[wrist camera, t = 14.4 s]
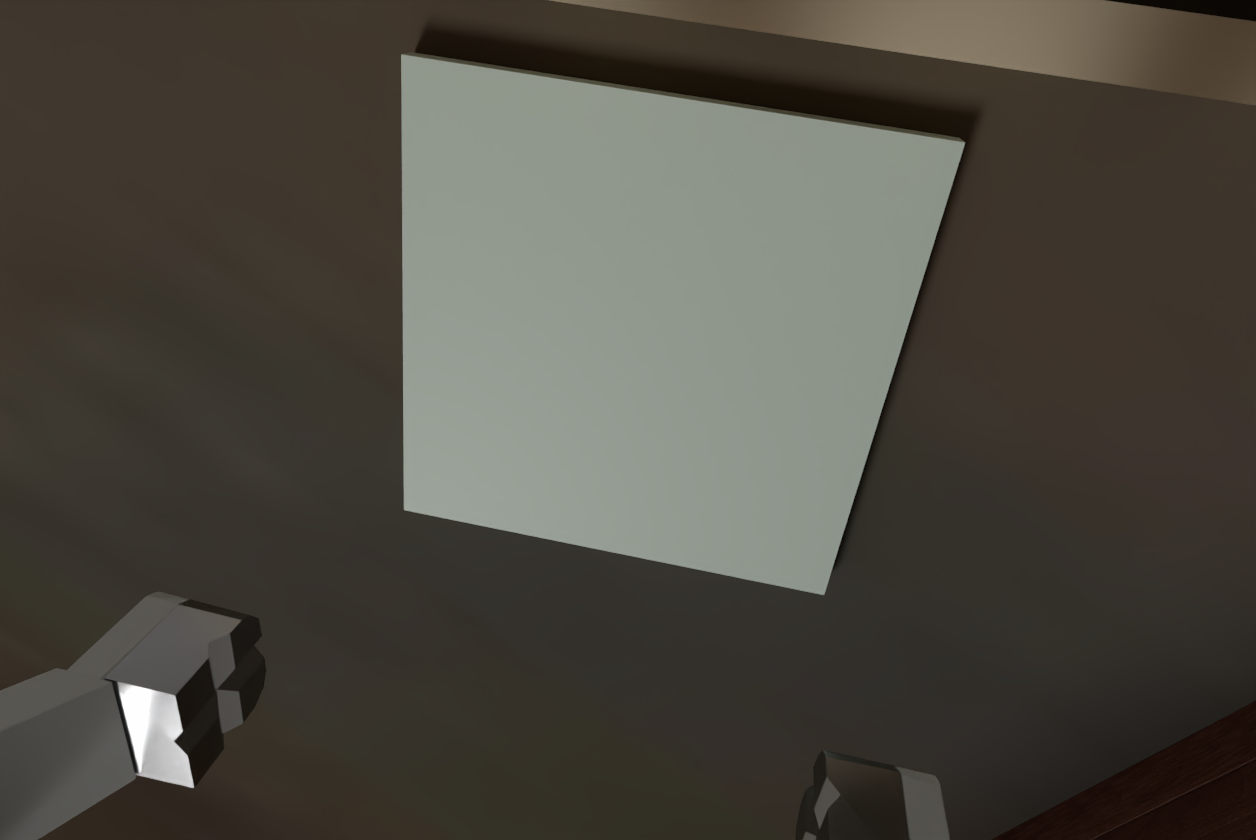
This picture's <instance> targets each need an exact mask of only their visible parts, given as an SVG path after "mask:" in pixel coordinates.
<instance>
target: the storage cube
mask: <svg viewBox="0 0 1256 840" xmlns="http://www.w3.org/2000/svg"><path fill="white" fill-rule="evenodd" d="M992 840H1256V701H1255V702H1253V703H1251V704H1249V705H1247V706H1245V707H1243V708H1242V709H1240V710H1238V711H1236V712H1234V713H1232V714H1230V715H1228V716H1226V717H1224V718H1222V719H1221V720H1219V721H1217V722H1215V723H1213V724H1211V725H1209V726H1207V727H1205V728H1203V729H1201V730H1200V731H1198V732H1196V733H1194V734H1192V735H1190V736H1188V737H1186V738H1184V739H1182V740H1181V741H1179V742H1177V743H1175V744H1173V745H1171V746H1169V747H1167V748H1165V749H1163V750H1161V751H1160V752H1158V753H1156V754H1154V755H1152V756H1150V757H1148V758H1146V759H1144V760H1142V761H1140V762H1139V763H1137V764H1135V765H1133V766H1131V767H1129V768H1127V769H1125V770H1123V771H1121V772H1120V773H1118V774H1116V775H1114V776H1112V777H1110V778H1108V779H1106V780H1104V781H1102V782H1100V783H1099V784H1097V785H1095V786H1093V787H1091V788H1089V789H1087V790H1085V791H1083V792H1081V793H1080V794H1078V795H1076V796H1074V797H1072V798H1070V799H1068V800H1066V801H1064V802H1062V803H1060V804H1059V805H1057V806H1055V807H1053V808H1051V809H1049V810H1047V811H1045V812H1043V813H1041V814H1039V815H1038V816H1036V817H1034V818H1032V819H1030V820H1028V821H1026V822H1024V823H1022V824H1020V825H1019V826H1017V827H1015V828H1013V829H1011V830H1009V831H1007V832H1005V833H1003V834H1001V835H999V836H998V837H996V838H994V839H992Z"/></svg>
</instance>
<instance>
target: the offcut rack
mask: <svg viewBox="0 0 1256 840" xmlns="http://www.w3.org/2000/svg"><path fill="white" fill-rule="evenodd" d="M550 1H557V2H564V3H571V4H577V5H584V6H591V7H598V8H604V9H611V10H618V11H625V12H631V13H638V14H645V15H651V16H658V17H665V18H672V19H678V20H685V21H692V22H699V23H705V24H712V25H719V26H726V27H732V28H739V29H746V30H752V31H759V32H766V33H773V34H779V35H786V36H793V37H800V38H806V39H813V40H820V41H826V42H833V43H840V44H847V45H853V46H860V47H867V48H874V49H880V50H887V51H894V52H901V53H907V54H914V55H921V56H927V57H934V58H941V59H948V60H954V61H961V62H968V63H975V64H981V65H988V66H995V67H1002V68H1008V69H1015V70H1022V71H1028V72H1035V73H1042V74H1049V75H1055V76H1062V77H1069V78H1076V79H1082V80H1089V81H1096V82H1102V83H1109V84H1116V85H1123V86H1129V87H1136V88H1143V89H1150V90H1156V91H1163V92H1170V93H1177V94H1183V95H1190V96H1197V97H1203V98H1210V99H1217V100H1224V101H1230V102H1237V103H1244V104H1251V105H1256V22H1255V21H1248V20H1241V19H1234V18H1227V17H1220V16H1213V15H1206V14H1199V13H1191V12H1184V11H1177V10H1170V9H1163V8H1156V7H1149V6H1142V5H1135V4H1127V3H1120V2H1113V1H1106V0H550Z"/></svg>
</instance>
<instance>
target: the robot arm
mask: <svg viewBox="0 0 1256 840" xmlns="http://www.w3.org/2000/svg"><path fill="white" fill-rule="evenodd" d="M261 636H262V634H261V628H260V623H259V618H256V617H254V616H251V615H247V614H244V613H240V612H236V611H232V610H229V609H225V608H221V607H217V606H213V605H210V604H206V603H202V602H198V601H195V600H191V599H186V598H182V597H178V596H174V595H170V594H166V593H162V592H156V593H153V594H151V595H148V596H146V597H145V598H144V599H142V600H141V601H140V602H139V603H138V604H137V605H136V606H135V607H134V608H133V609H132V610H131V611H130V612H129V613H127V614H126V615H125V616H124V617H123V618H122V619H121V620H120V621H119V622H118V623H117V624H116V625H115V626H114V627H112V628H111V629H110V630H109V631H108V632H107V633H106V634H105V635H104V636H103V637H102V638H101V639H100V640H98V641H97V642H96V643H95V644H94V645H93V646H92V647H91V648H90V649H89V650H88V651H87V652H86V653H85V654H83V655H82V656H81V657H80V658H79V659H78V660H77V661H76V662H75V663H74V664H73V665H72V666H71V667H70V668H68V669H67V670H63V669H58V668H56V669H53V670H51V671H48V672H46V673H43V674H41V675H38V676H36V677H33V678H31V679H28V680H26V681H23V682H21V683H18V684H16V685H13V686H11V687H8V688H6V689H3V690H1V691H0V840H38V839H39V838H41V837H43V836H44V835H46V834H47V833H49V832H51V831H52V830H54V829H55V828H57V827H59V826H60V825H62V824H63V823H65V822H67V821H68V820H70V819H72V818H73V817H75V816H76V815H78V814H80V813H81V812H83V811H84V810H86V809H88V808H89V807H91V806H93V805H94V804H96V803H97V802H99V801H101V800H102V799H104V798H105V797H107V796H109V795H110V794H112V793H113V792H115V791H117V790H118V789H120V788H122V787H123V786H125V785H126V784H128V783H130V782H131V781H133V780H134V779H136V775H139V776H144V777H148V778H152V779H157V780H161V781H166V782H170V783H174V784H179V785H183V786H187V787H192V788H195V786H196V785H197V784H198V782H199V781H200V780H201V778H202V777H203V776H204V774H205V773H206V772H207V770H208V769H209V768H210V767H211V765H212V764H213V763H214V761H215V760H216V759H217V757H218V756H219V755H220V753H221V752H222V751H223V749H224V734H223V733H225V732H227V731H229V730H231V729H232V728H234V727H236V726H238V725H240V724H242V723H244V721H245V720H246V718H247V717H248V716H249V714H250V713H251V712H252V710H253V709H254V707H255V706H256V703H257V701H258V699H259V696H260V694H261V692H262V689H263V687H264V681H265V674H266V666H265V658H264V657H263V656H262V654H261V653H260V652H259V651H258V650H257V648H256V647H255V646H254V645H255V644H256V642H257V641H258V640H259V639H260V637H261ZM813 772H814V785H812V786H811V787H809V788H807V789H806V790H805V793H804V796H803V799H802V802H801V805H800V810H799V815H798V821H797V826H796V839H795V840H950V836H949V830H948V825H947V819H946V814H945V809H944V803H943V798H942V792H941V787H940V783H939V781H938V780H937V778H936V776H934V775H930V774H926V773H921V772H917V771H913V770H908V769H904V768H900V767H896V768H895V767H894V766H893V765H889V764H884V763H880V762H875V761H871V760H866V759H862V758H858V757H853V756H849V755H844V754H840V753H835V752H831V751H826V750H822V751H821V752H820V753H819V755H818V757H817V759H816V762H815V765H814V767H813Z"/></svg>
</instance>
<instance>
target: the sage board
mask: <svg viewBox="0 0 1256 840" xmlns="http://www.w3.org/2000/svg"><path fill="white" fill-rule="evenodd" d="M401 78H402V251H403V424H404V510H406V511H411V512H416V513H421V514H426V515H431V516H436V517H441V518H446V519H451V520H456V521H461V522H466V523H471V524H476V525H481V526H485V527H490V528H495V529H500V530H505V531H510V532H515V533H520V534H525V535H530V536H535V537H540V538H545V539H550V540H555V541H560V542H565V543H569V544H574V545H579V546H584V547H589V548H594V549H599V550H604V551H609V552H614V553H619V554H624V555H629V556H634V557H639V558H644V559H648V560H653V561H658V562H663V563H668V564H673V565H678V566H683V567H688V568H693V569H698V570H703V571H708V572H713V573H718V574H723V575H727V576H732V577H737V578H742V579H747V580H752V581H757V582H762V583H767V584H772V585H777V586H782V587H787V588H792V589H797V590H802V591H807V592H811V593H816V594H821V595H824V593H825V590H826V587H827V584H828V581H829V577H830V574H831V571H832V568H833V565H834V561H835V558H836V555H837V552H838V549H839V545H840V542H841V539H842V536H843V533H844V529H845V526H846V523H847V520H848V517H849V513H850V510H851V507H852V504H853V501H854V497H855V494H856V491H857V488H858V485H859V481H860V478H861V475H862V472H863V469H864V465H865V462H866V459H867V456H868V453H869V449H870V446H871V443H872V440H873V437H874V433H875V430H876V427H877V424H878V421H879V417H880V414H881V411H882V408H883V405H884V401H885V398H886V395H887V392H888V389H889V385H890V382H891V379H892V376H893V373H894V369H895V366H896V363H897V360H898V357H899V353H900V350H901V347H902V344H903V341H904V337H905V334H906V331H907V328H908V325H909V321H910V318H911V315H912V312H913V309H914V305H915V302H916V299H917V296H918V293H919V289H920V286H921V283H922V280H923V277H924V273H925V270H926V267H927V264H928V261H929V257H930V254H931V251H932V248H933V245H934V241H935V238H936V235H937V232H938V229H939V225H940V222H941V219H942V216H943V213H944V209H945V206H946V203H947V200H948V197H949V193H950V190H951V187H952V184H953V181H954V177H955V174H956V171H957V168H958V165H959V161H960V158H961V155H962V152H963V149H964V145H965V142H964V141H963V140H961V139H960V138H959V137H953V136H947V135H940V134H934V133H927V132H921V131H914V130H908V129H902V128H895V127H889V126H882V125H876V124H870V123H863V122H857V121H850V120H844V119H837V118H831V117H825V116H818V115H812V114H805V113H799V112H793V111H786V110H780V109H773V108H767V107H760V106H754V105H748V104H741V103H735V102H728V101H722V100H716V99H709V98H703V97H696V96H690V95H684V94H677V93H671V92H664V91H658V90H651V89H645V88H639V87H632V86H626V85H619V84H613V83H607V82H600V81H594V80H587V79H581V78H574V77H568V76H562V75H555V74H549V73H542V72H536V71H530V70H523V69H517V68H510V67H504V66H497V65H491V64H485V63H478V62H472V61H465V60H459V59H453V58H446V57H440V56H433V55H427V54H420V53H414V52H413V53H407V54H401Z"/></svg>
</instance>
